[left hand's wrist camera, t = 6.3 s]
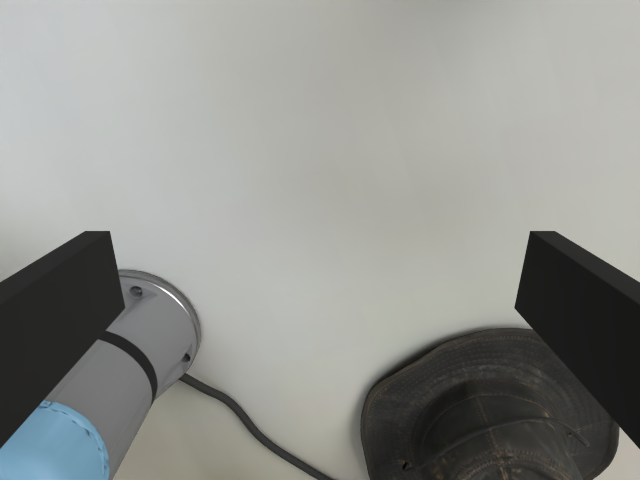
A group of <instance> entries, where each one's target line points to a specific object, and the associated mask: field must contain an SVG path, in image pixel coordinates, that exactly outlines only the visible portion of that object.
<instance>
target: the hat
mask: <svg viewBox="0 0 640 480" xmlns="http://www.w3.org/2000/svg"><path fill="white" fill-rule="evenodd" d="M619 427H620V426H619V425H618V424H617V423H616V422H615V421H614V420H613V418H612V417H611V416H610V415H609V414H608V413H607V412H606V411H605V409H604V408H603V407H602V406H601V405H600V404H599V403H598V402H597V400H596V399H595V398H594V397H593V396H592V395H591V394H590V393H589V391H588V390H587V389H586V388H585V387H584V386H583V385H582V383H581V382H580V381H579V380H578V379H577V378H576V377H575V376H574V374H573V373H572V372H571V371H570V370H569V369H568V368H567V367H566V365H565V364H564V363H563V362H562V361H561V360H560V359H559V358H558V356H557V355H556V354H555V353H554V352H553V351H552V350H551V349H550V347H549V346H548V345H547V344H546V343H545V342H544V341H543V340H542V338H541V337H540V336H539V335H538V334H537V333H536V332H535V331H534V330H532V329H521V328H503V329H489V330H484V331H480V332H476V333H472V334H469V335H465V336H463V337H460V338H457V339H454V340H451V341H449V342H446V343H444V344H442V345H439V346H438V347H436V348H435V349H433V350H432V351H431V352H429V353H428V354H426V355H425V356H423V357H421V358H420V359H418V360H417V361H415V362H414V363H412V364H410V365H408V366H406V367H404V368H403V369H401V370H400V371H398V372H396V373H395V374H393V375H392V376H390V377H388V378H386V379H384V380H383V381H381V382H380V383H379V384H377V385H376V386H375V387H374V388H373V389H372V390H371V391H370V393H369V394H368V396H367V398H366V400H365V403H364V407H363V411H362V416H361V440H362V445H363V450H364V454H365V459H366V464H367V469H368V473H369V477H370V480H593V479H594V478H595V477H597V476H598V475H600V474H601V473H602V472H603V471H604V470H605V469H606V468H607V467H608V466H609V465H610V463H611V462H612V460H613V458H614V456H615V454H616V451H617V447H618V440H619Z"/></svg>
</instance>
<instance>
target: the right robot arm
mask: <svg viewBox="0 0 640 480" xmlns="http://www.w3.org/2000/svg"><path fill="white" fill-rule="evenodd" d="M118 274H119V279H120V283H121V288H122V293H123V298H124V303H125V309H124V310H123V311H122V313H121V314H120V315H119V316H118V317H117V318H116V319H115V320H114V322H113V323H112V324H111V325H110V326H109V327H108V328H107V329H106V331H105V332H104V333H103V334H102V335H101V336H100V337H99V338H98V340H97V341H96V342H95V343H94V344H93V345H92V346H91V347H90V349H89V350H88V351H87V352H86V353H85V354H84V355H83V356H82V358H81V359H80V360H79V361H78V362H77V363H76V364H75V365H74V367H73V368H72V369H71V370H70V371H69V372H68V373H67V374H66V376H65V377H64V378H63V379H62V380H61V381H60V382H59V383H58V385H57V386H56V387H55V388H54V389H53V390H52V391H51V393H50V394H49V395H48V396H47V397H46V398H45V399H44V400H43V402H42V403H41V404H40V405H39V406H38V407H37V408H36V409H35V411H34V412H33V413H32V414H31V415H30V416H29V417H28V418H27V420H26V421H25V422H24V423H23V424H22V425H21V426H20V427H19V429H18V430H17V431H16V432H15V433H14V434H13V435H12V436H11V438H10V439H9V440H8V441H7V442H6V443H5V444H4V445H3V447H2V448H1V449H0V480H112V479H113V477H114V475H115V473H116V472H117V470H118V468H119V466H120V464H121V462H122V460H123V458H124V456H125V455H126V453H127V451H128V449H129V447H130V445H131V443H132V441H133V439H134V438H135V436H136V434H137V432H138V430H139V428H140V426H141V424H142V422H143V421H144V419H145V417H146V415H147V413H148V411H149V409H150V407H151V405H152V404H153V402H154V400H155V399H156V398H157V397H159V396H160V395H161V394H162V393H163V392H164V391H166V390H167V389H168V388H169V387H170V386H171V385H172V384H174V383H175V382H176V381H177V380H178V379H179V380H181V381H183V382H185V383H186V384H188V385H190V386H192V387H194V388H196V389H198V390H199V391H201V392H203V393H205V394H207V395H210V396H212V397H214V398H216V399H218V400H220V401H222V402H223V403H225V404H226V405H227V406H228V407H230V408H231V409H232V410H233V411H234V412H235V413H236V414H237V416H238V417H239V418H240V419H241V421H242V422H243V423H244V425H245V426H246V427H247V428H248V430H249V431H250V432H251V433H252V434H253V435H254V437H255V438H256V439H258V440H259V441H260V442H261V443H262V444H263V445H264V446H266V447H267V448H268V449H270V450H271V451H272V452H274V453H275V454H277V455H278V456H280V457H281V458H283V459H285V460H286V461H288V462H289V463H291V464H293V465H294V466H296V467H298V468H299V469H301V470H303V471H304V472H306V473H308V474H309V475H311V476H313V477H314V478H316V479H318V480H333V479H331V478H329V477H327V476H326V475H324V474H322V473H320V472H319V471H317V470H315V469H314V468H312V467H310V466H309V465H307V464H306V463H304V462H302V461H301V460H299V459H297V458H296V457H294V456H292V455H291V454H289V453H288V452H286V451H284V450H283V449H281V448H280V447H278V446H277V445H276V444H274V443H273V442H272V441H270V440H269V439H268V438H267V437H266V436H264V435H263V434H262V433H261V432H260V431H259V430H258V429H257V427H256V426H255V425H254V424H253V422H252V421H251V420H250V418H249V417H248V416H247V415H246V413H245V412H244V411H243V410H242V408H241V407H240V406H239V405H238V404H237V403H236V402H235V401H234V400H232V399H231V398H230V397H229V396H227V395H226V394H224V393H222V392H220V391H218V390H216V389H214V388H211V387H209V386H207V385H206V384H204V383H202V382H200V381H198V380H197V379H195V378H193V377H191V376H189V375H188V374H186V373H185V372H186V371H187V370H188V369H189V367H190V366H191V364H192V362H193V360H194V358H195V356H196V354H197V352H198V349H199V346H200V341H201V329H200V323H199V320H198V317H197V314H196V312H195V310H194V308H193V307H192V305H191V304H190V302H189V301H188V300H187V298H186V297H185V296H184V295H183V294H182V293H181V292H180V291H179V290H178V289H176V288H175V287H174V286H172V285H171V284H169V283H168V282H166V281H164V280H162V279H161V278H158V277H156V276H154V275H151V274H148V273H144V272H140V271H134V270H118Z"/></svg>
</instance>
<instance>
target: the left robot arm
mask: <svg viewBox="0 0 640 480" xmlns="http://www.w3.org/2000/svg"><path fill="white" fill-rule="evenodd" d="M124 309H125V303H124V298H123V293H122V288H121V283H120V279H119V274H118V269H117V264H116V259H115V254H114V249H113V245H112V240H111V235H110V231H85V232H83V233H81V234H80V235H78V236H76V237H75V238H73V239H71V240H70V241H68V242H66V243H65V244H63V245H61V246H60V247H58V248H56V249H55V250H53V251H52V252H50V253H48V254H47V255H45V256H43V257H42V258H40V259H38V260H37V261H35V262H33V263H32V264H30V265H28V266H27V267H25V268H23V269H22V270H20V271H18V272H17V273H15V274H13V275H12V276H10V277H9V278H7V279H5V280H4V281H2V282H0V449H1V448H2V447H3V445H4V444H5V443H6V442H7V441H8V440H9V439H10V438H11V436H12V435H13V434H14V433H15V432H16V431H17V430H18V429H19V427H20V426H21V425H22V424H23V423H24V422H25V421H26V420H27V418H28V417H29V416H30V415H31V414H32V413H33V412H34V411H35V409H36V408H37V407H38V406H39V405H40V404H41V403H42V402H43V400H44V399H45V398H46V397H47V396H48V395H49V394H50V393H51V391H52V390H53V389H54V388H55V387H56V386H57V385H58V383H59V382H60V381H61V380H62V379H63V378H64V377H65V376H66V374H67V373H68V372H69V371H70V370H71V369H72V368H73V367H74V365H75V364H76V363H77V362H78V361H79V360H80V359H81V358H82V356H83V355H84V354H85V353H86V352H87V351H88V350H89V349H90V347H91V346H92V345H93V344H94V343H95V342H96V341H97V340H98V338H99V337H100V336H101V335H102V334H103V333H104V332H105V331H106V329H107V328H108V327H109V326H110V325H111V324H112V323H113V322H114V320H115V319H116V318H117V317H118V316H119V315H120V314H121V313H122V311H123V310H124ZM515 309H516V310H517V311H518V313H519V314H520V315H521V316H522V317H523V318H524V319H525V320H526V322H527V323H528V324H529V325H530V326H531V327H532V328H533V329H534V331H535V332H536V333H537V334H538V335H539V336H540V337H541V338H542V340H543V341H544V342H545V343H546V344H547V345H548V346H549V347H550V349H551V350H552V351H553V352H554V353H555V354H556V355H557V356H558V358H559V359H560V360H561V361H562V362H563V363H564V364H565V365H566V367H567V368H568V369H569V370H570V371H571V372H572V373H573V374H574V376H575V377H576V378H577V379H578V380H579V381H580V382H581V383H582V385H583V386H584V387H585V388H586V389H587V390H588V391H589V393H590V394H591V395H592V396H593V397H594V398H595V399H596V400H597V402H598V403H599V404H600V405H601V406H602V407H603V408H604V409H605V411H606V412H607V413H608V414H609V415H610V416H611V417H612V418H613V420H614V421H615V422H616V423H617V424H618V425H619V426H620V427H621V429H622V430H623V431H624V432H625V433H626V434H627V435H628V436H629V438H630V439H631V440H632V441H633V442H634V443H635V444H636V445H637V447H638V448H639V449H640V282H638V281H636V280H635V279H633V278H631V277H630V276H628V275H627V274H625V273H623V272H622V271H620V270H618V269H617V268H615V267H613V266H612V265H610V264H608V263H607V262H605V261H603V260H602V259H600V258H598V257H597V256H595V255H593V254H592V253H590V252H588V251H587V250H585V249H584V248H582V247H580V246H579V245H577V244H575V243H574V242H572V241H570V240H569V239H567V238H565V237H564V236H562V235H560V234H559V233H557V232H555V231H530V235H529V240H528V245H527V249H526V254H525V259H524V264H523V269H522V274H521V279H520V283H519V288H518V293H517V298H516V303H515Z"/></svg>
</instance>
